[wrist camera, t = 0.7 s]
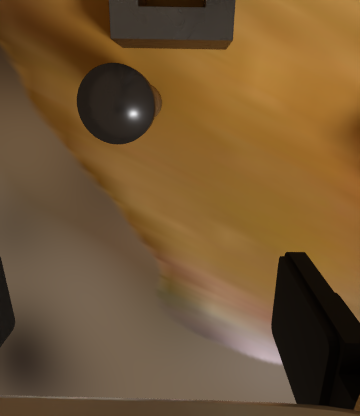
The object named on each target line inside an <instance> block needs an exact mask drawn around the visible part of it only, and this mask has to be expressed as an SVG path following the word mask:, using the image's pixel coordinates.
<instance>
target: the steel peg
mask: <svg viewBox="0 0 360 416" xmlns="http://www.w3.org/2000/svg"><path fill="white" fill-rule="evenodd" d="M161 106H162V99H161V95H160V93H159V92H158V90H157V89H156V88H155V87H153V86H152V85H150V83H149V82H148V80H147V79H146V78H145V77H144V76H143V75H142V74H141V73H139V72H138V71H136V70H135V69H133V68H131V67H129V66H126V65H124V64H119V63H106V64H102V65H100V66H97V67H95V68H94V69H92V70H91V71H90V72H89V73H88V74H87V75H86V76H85V77H84V79H83V80H82V82H81V84H80V87H79V89H78V94H77V107H78V112H79V115H80V118H81V120H82V122H83V124H84V125H85V127H86V128H87V129H88V131H89V132H90V133H91V134H93V135H94V136H95V137H97V138H98V139H100V140H102V141H104V142H107V143H111V144H126V143H129V142H132V141H134V140H136V139H137V138H139V137H140V136H142V135H143V134H144V133H145V132H146V131H147V130H148V129H149V127H150V126H151V124H152V122H153V120H154V117H156V116H157V115H158V113H159V112H160V110H161Z"/></svg>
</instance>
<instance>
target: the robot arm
mask: <svg viewBox="0 0 360 416" xmlns="http://www.w3.org/2000/svg"><path fill="white" fill-rule="evenodd" d="M14 325H15V318H14V313H13V309H12V304H11V300H10V296H9V291H8V287H7V283H6V278H5V274H4V270H3V265H2V261H1V257H0V347H1V345H2V344H3V343H4V341H5V340H6V339H7V337H8V336H9V335H10V333H11V332H12V330H13V328H14ZM271 325H272V334H273V337H274V340H275V343H276V346H277V348H278V351H279V354H280V357H281V360H282V363H283V366H284V369H285V371H286V374H287V377H288V380H289V383H290V386H291V389H292V392H293V395H294V397H295V400H296V403H297V404H288V403H275V402H244V401H215V400H179V399H175V400H174V399H143V398H142V399H141V398H140V399H139V398H102V397H101V398H100V397H57V396H55V397H54V396H6V395H3V396H2V395H0V416H360V322H359V321H358V320H357V318H356V317H355V316H354V314H353V313H352V312H351V310H350V309H349V308H348V306H347V305H346V304H345V302H344V301H343V300H342V298H341V297H340V296H339V295H338V294H337V293H334V291H333V290H332V289H331V287H330V286H329V284H328V283H327V282H326V280H325V279H324V278H323V276H322V275H321V273H320V272H319V271H318V269H317V268H316V267H315V265H314V264H313V263H312V261H311V260H310V258H309V257H308V256H307V254H306V253H305V252H286V253H285V256H280V258H279V263H278V271H277V280H276V289H275V297H274V306H273V315H272V324H271Z"/></svg>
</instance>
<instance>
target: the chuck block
mask: <svg viewBox="0 0 360 416" xmlns="http://www.w3.org/2000/svg"><path fill="white" fill-rule="evenodd" d="M109 12H110V33H111V39H112V40H113V41H115V42H116V43H117V44H119V45H120V46H121V47H123V48H170V49H227V47H228V46H229V45H230V43H231V42H232V41H233V28H234V13H235V0H204V7H146V0H109Z"/></svg>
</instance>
